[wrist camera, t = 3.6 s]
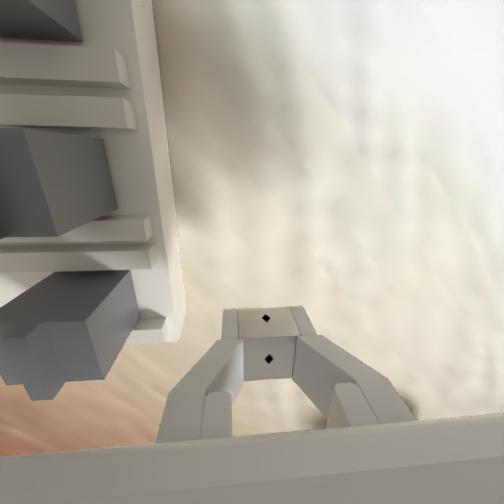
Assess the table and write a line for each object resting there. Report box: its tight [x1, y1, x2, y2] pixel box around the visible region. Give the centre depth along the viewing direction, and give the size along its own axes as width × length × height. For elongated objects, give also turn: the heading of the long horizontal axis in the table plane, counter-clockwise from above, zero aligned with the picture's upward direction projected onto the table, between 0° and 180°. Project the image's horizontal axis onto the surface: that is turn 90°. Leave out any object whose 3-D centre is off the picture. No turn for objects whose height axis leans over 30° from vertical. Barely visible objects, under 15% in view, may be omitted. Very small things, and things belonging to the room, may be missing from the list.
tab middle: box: [0, 128, 118, 239], centre depth 6 cm, size 3×2×4 cm
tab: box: [0, 270, 140, 401], centre depth 8 cm, size 3×2×4 cm
